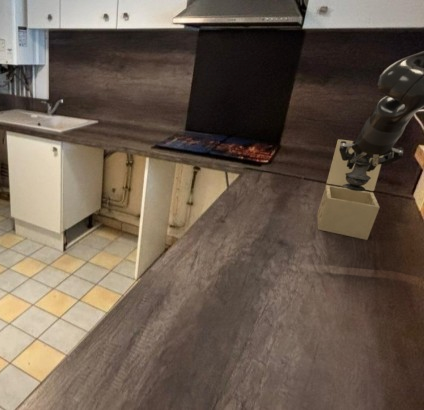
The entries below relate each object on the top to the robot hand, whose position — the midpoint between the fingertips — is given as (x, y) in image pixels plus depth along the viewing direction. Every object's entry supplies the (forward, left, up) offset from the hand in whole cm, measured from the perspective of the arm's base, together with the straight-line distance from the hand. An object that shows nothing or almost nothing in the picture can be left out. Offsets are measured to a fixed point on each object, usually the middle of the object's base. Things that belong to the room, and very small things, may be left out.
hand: (359, 167), depth 101 cm
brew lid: (-1, -7, -1) cm, 7 cm away
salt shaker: (0, +2, -6) cm, 6 cm away
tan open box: (0, +2, -18) cm, 18 cm away
